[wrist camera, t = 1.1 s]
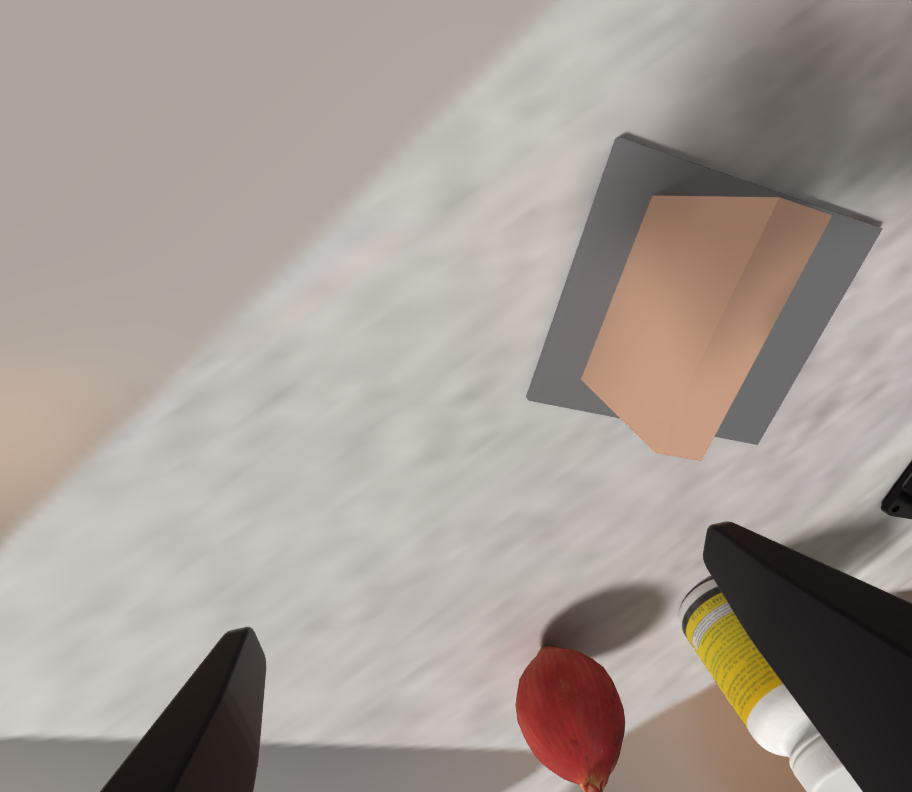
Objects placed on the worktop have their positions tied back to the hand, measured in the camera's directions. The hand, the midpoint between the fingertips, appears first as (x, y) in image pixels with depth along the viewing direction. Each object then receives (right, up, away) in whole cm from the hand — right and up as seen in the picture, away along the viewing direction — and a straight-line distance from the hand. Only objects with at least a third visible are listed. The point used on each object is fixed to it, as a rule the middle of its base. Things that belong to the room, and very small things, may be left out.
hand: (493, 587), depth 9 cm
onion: (+5, -12, +20) cm, 24 cm away
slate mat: (+10, +7, +12) cm, 17 cm away
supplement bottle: (+16, -10, +21) cm, 28 cm away
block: (+7, +8, +11) cm, 15 cm away
